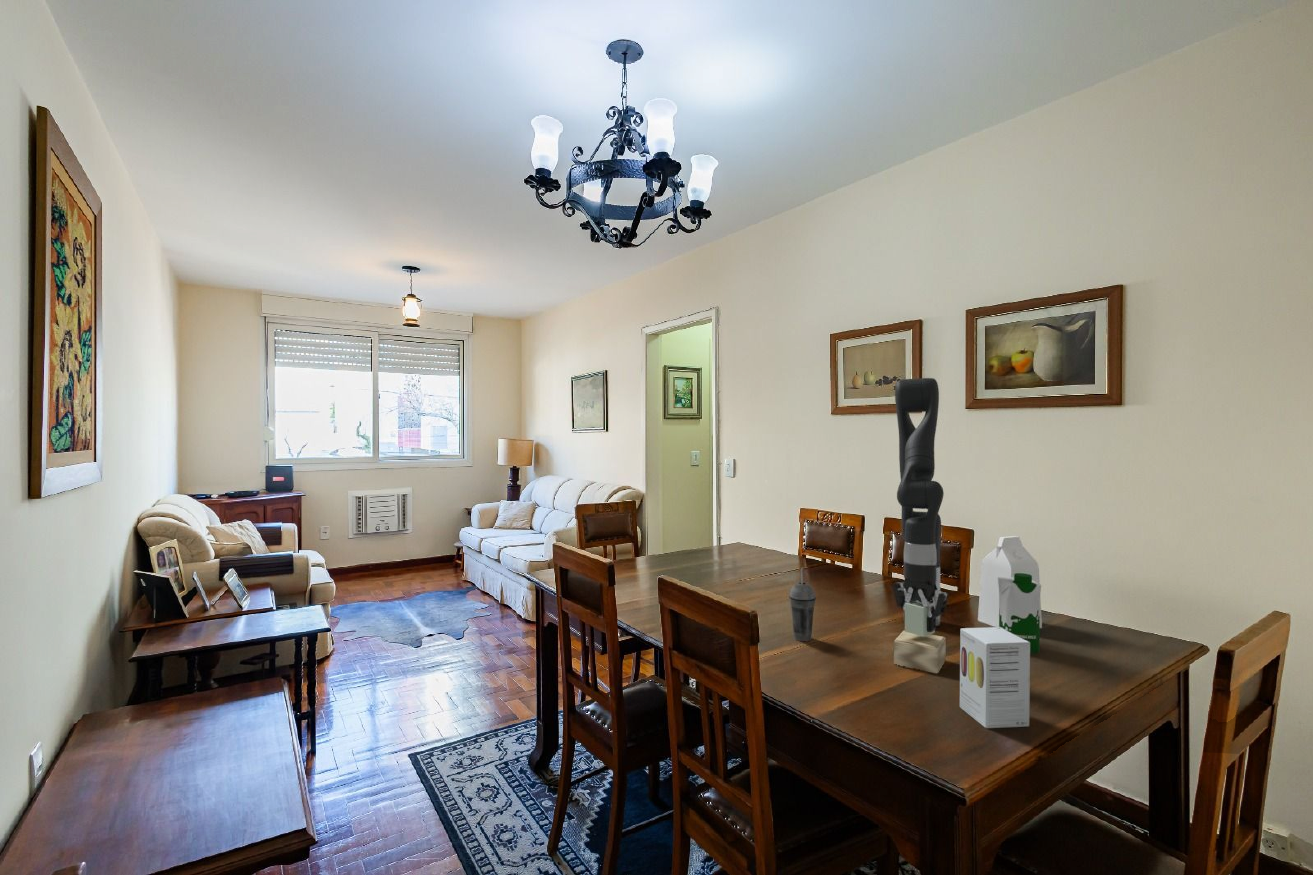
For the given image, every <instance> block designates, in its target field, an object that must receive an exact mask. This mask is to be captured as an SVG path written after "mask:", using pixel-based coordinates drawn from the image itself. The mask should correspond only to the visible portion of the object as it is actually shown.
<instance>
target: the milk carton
mask: <svg viewBox="0 0 1313 875" xmlns="http://www.w3.org/2000/svg"><path fill="white" fill-rule="evenodd" d="M998 586H999V627H1001V628H1003V629H1005V630H1006V631H1008V632H1010V633H1012V634H1014V635H1016V636H1018V637H1020V638H1022V639H1024V640H1026V641H1028V642H1030V654H1040V642H1041V641H1040V629H1041V628H1040V598H1041V591H1042V584H1041V583H1040V584H1039V583H1037V582H1035V581H1033V580H1032V575H1029V574H1023V573H1015V574H1014V578H1002V577H998Z"/></svg>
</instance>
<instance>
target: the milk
mask: <svg viewBox="0 0 1313 875" xmlns="http://www.w3.org/2000/svg"><path fill="white" fill-rule="evenodd" d="M980 570H981V571H980V584H979V600H978V612H977V621H978V622H980V623H983V624H986V625H989V626H991V627H999V586H998V577H1002V578H1014V574H1015V573H1023V574H1029V575H1032V580H1033V581H1035V582H1037V583H1039V584H1040V585H1041V581H1040V580H1041V579H1040V566H1039V564H1038V562H1037V560H1036V559H1035V558H1034V557H1033V556H1032V555H1031V553H1030V552H1029V551H1028V550H1027V549H1026V548H1025V547H1024V546H1023V543H1022V541H1021V538H1020V536H1017V535H1011V536H1010V535H1009V536H1000V537H999V539H998V543H997V546H996V547H995V548H993V550H991V551H990V552H989V553H988V554H987V555H985V557H983V558H982V561H981V569H980ZM1041 602H1042V601H1041V597H1040V629H1042V628H1043V622H1042V603H1041Z"/></svg>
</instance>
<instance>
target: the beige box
mask: <svg viewBox="0 0 1313 875" xmlns="http://www.w3.org/2000/svg"><path fill="white" fill-rule="evenodd" d="M946 639H947V638H946V637H944V636H940V635H935V634H930V635H927V636H924V637H923V636H919V635H916V634H912V633H909V632H905V629H904V630H902V632H901V633H900V634H899V635H898V636H897V637H896V638H895V639H894V640H893V665H894V664H897V665H896V666H898V665H900V666H899V667H903V666H905V667H904V668H909V669H913V668H916V669H915V670H918V669H920V670H919V671H923V670H924V671H923V672H929V673H933V674H937V673H938V674H939V672H940V670H941V669H942V667H943V666H942V665H944V664H945V662H946V661H945V660H946V650H947V648H946V647H947V646H946V643H947V642H946Z"/></svg>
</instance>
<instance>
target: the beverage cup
mask: <svg viewBox="0 0 1313 875" xmlns="http://www.w3.org/2000/svg"><path fill="white" fill-rule="evenodd" d="M803 570H804V568H803V567H800V582H798V583H796V584H794V585H793V586H792V587H791V589H790V593H789V597H788V598H789V602H790V606H791V616H792V617H791V619H792V629H793V637H794V638H795V639H796V640H795V639H794V640H795V641H798V642H803V641H806V642H811V640H812V634H813V633H812V632H813V622H814V621H813V620H814V609H815V608H814V607H815V604H816V599H817V598H816V592H815V589H814V588H813V587H812V586H811V585H810V584H809V583H806V582H804V577H803V576H804V572H803Z"/></svg>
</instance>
